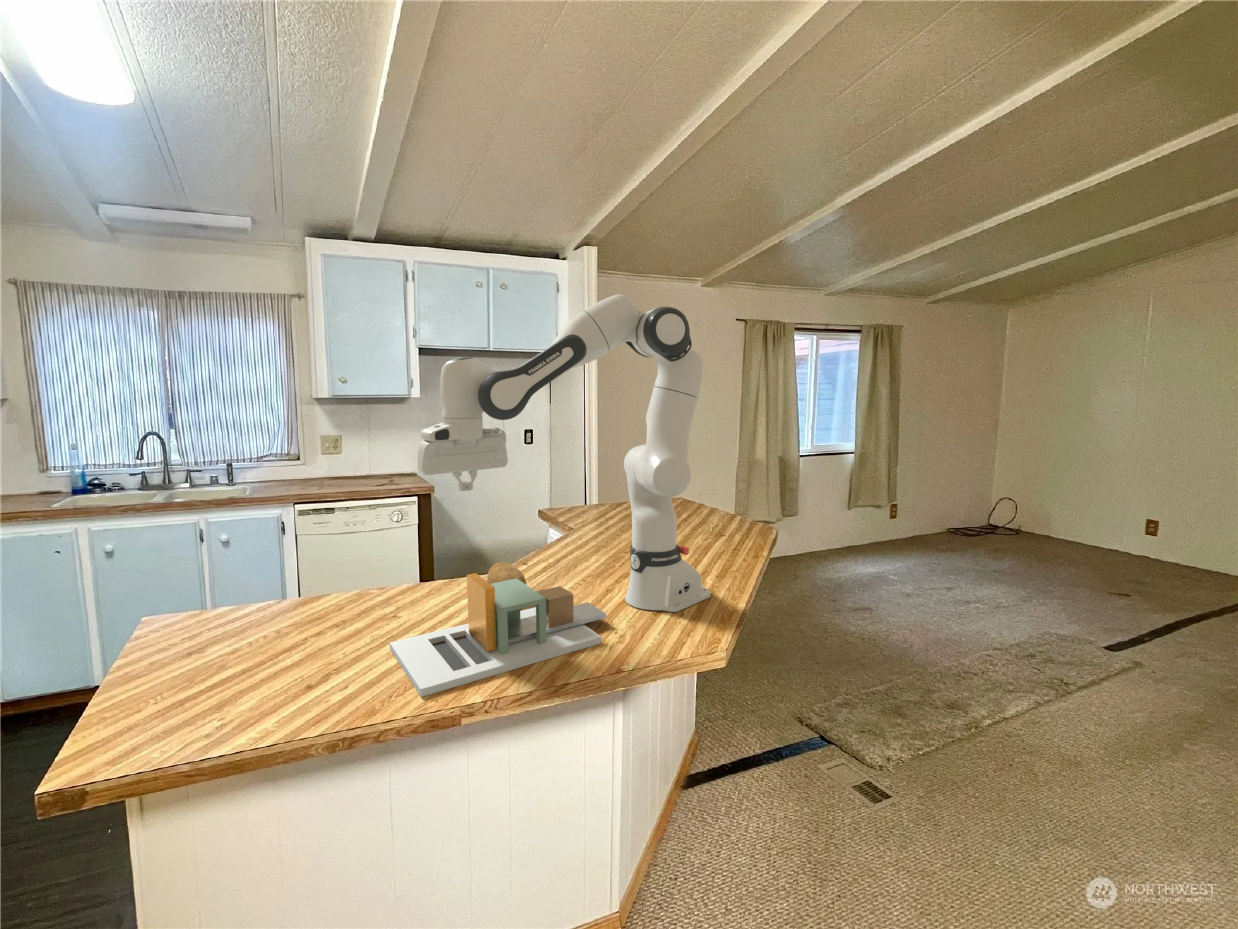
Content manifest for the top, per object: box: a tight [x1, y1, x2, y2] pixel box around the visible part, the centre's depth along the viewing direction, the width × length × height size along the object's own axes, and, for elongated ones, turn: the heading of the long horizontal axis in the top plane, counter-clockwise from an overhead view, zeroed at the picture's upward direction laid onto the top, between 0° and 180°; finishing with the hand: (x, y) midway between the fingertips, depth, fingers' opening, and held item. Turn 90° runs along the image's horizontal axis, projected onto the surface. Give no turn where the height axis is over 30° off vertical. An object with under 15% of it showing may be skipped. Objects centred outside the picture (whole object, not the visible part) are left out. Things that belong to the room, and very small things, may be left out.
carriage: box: [466, 572, 607, 652], centre depth 129 cm, size 29×10×13 cm, turn 124°
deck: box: [389, 606, 602, 698], centre depth 125 cm, size 38×22×2 cm, turn 124°
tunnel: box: [491, 578, 546, 655], centre depth 125 cm, size 10×14×10 cm
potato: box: [486, 562, 527, 585], centre depth 151 cm, size 10×14×8 cm
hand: (465, 490), depth 136 cm, fingers closed
